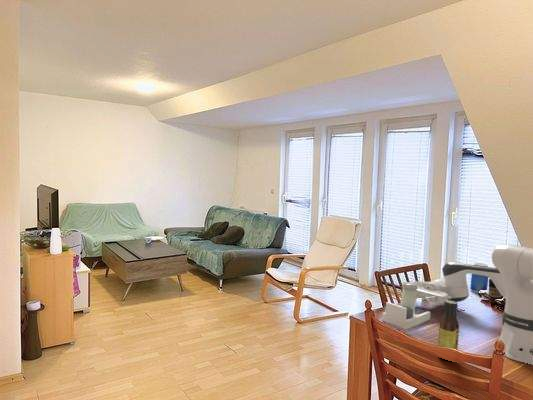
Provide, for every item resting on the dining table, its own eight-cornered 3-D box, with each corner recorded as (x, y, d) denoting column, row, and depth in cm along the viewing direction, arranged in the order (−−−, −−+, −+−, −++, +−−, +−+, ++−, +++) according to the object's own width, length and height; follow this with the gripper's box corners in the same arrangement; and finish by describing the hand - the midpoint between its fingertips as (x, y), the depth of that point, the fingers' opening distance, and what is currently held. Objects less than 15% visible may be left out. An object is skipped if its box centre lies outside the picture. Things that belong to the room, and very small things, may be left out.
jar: (416, 319, 169) (420, 284, 168) (409, 322, 165) (413, 287, 164) (403, 315, 174) (407, 281, 173) (396, 318, 170) (399, 283, 169)
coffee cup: (501, 306, 196) (504, 281, 195) (483, 301, 202) (486, 277, 201) (507, 303, 201) (510, 279, 201) (490, 299, 208) (492, 275, 207)
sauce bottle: (458, 363, 132) (464, 306, 130) (439, 360, 133) (444, 304, 131) (453, 354, 138) (458, 300, 137) (434, 352, 139) (439, 298, 138)
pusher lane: (429, 319, 172) (431, 300, 171) (406, 329, 159) (408, 309, 158) (406, 311, 180) (407, 293, 180) (382, 320, 167) (383, 301, 167)
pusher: (412, 322, 165) (413, 309, 164) (407, 324, 162) (409, 311, 162) (394, 316, 171) (395, 303, 170) (390, 317, 169) (391, 305, 168)
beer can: (487, 292, 221) (490, 264, 219) (486, 295, 214) (489, 267, 212) (470, 289, 225) (473, 261, 224) (469, 292, 218) (472, 264, 217)
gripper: (452, 303, 180) (439, 310, 171) (411, 292, 195) (396, 297, 186) (453, 290, 179) (440, 296, 170) (412, 280, 195) (397, 284, 185)
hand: (417, 296), depth 178 cm, fingers open, 8 cm apart
